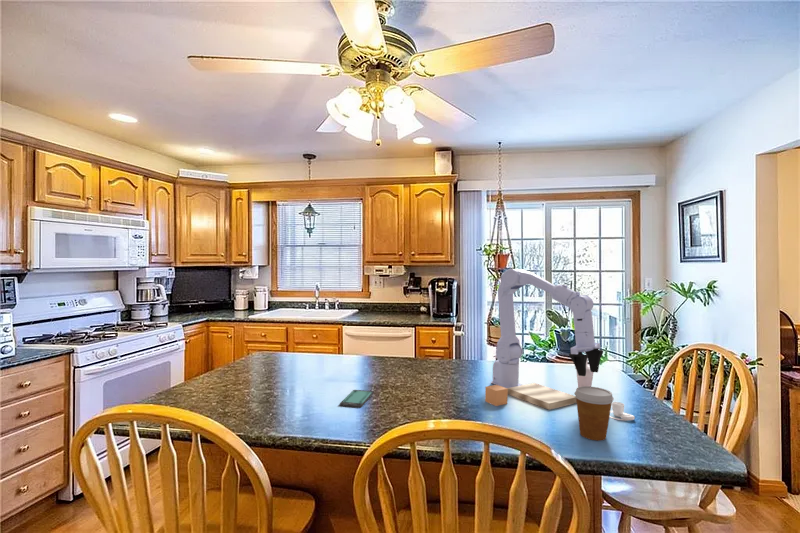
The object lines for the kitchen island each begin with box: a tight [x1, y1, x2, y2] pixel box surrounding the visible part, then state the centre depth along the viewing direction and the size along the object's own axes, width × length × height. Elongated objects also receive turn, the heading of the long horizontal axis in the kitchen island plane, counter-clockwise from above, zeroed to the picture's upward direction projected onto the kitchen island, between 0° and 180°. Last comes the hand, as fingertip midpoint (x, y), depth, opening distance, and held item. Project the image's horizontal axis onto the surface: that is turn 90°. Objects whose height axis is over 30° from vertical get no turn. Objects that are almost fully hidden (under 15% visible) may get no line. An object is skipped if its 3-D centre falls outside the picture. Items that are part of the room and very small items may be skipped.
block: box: [484, 384, 509, 407], centre depth 135 cm, size 5×5×5 cm
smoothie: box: [574, 358, 595, 388], centre depth 146 cm, size 6×6×14 cm
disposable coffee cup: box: [573, 386, 615, 441], centre depth 110 cm, size 10×10×12 cm
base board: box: [507, 382, 577, 410], centre depth 141 cm, size 18×14×2 cm
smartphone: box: [339, 389, 374, 409], centre depth 136 cm, size 7×1×15 cm
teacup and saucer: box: [609, 401, 635, 422], centre depth 125 cm, size 9×8×4 cm
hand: (588, 373), depth 134 cm, fingers open, 7 cm apart
